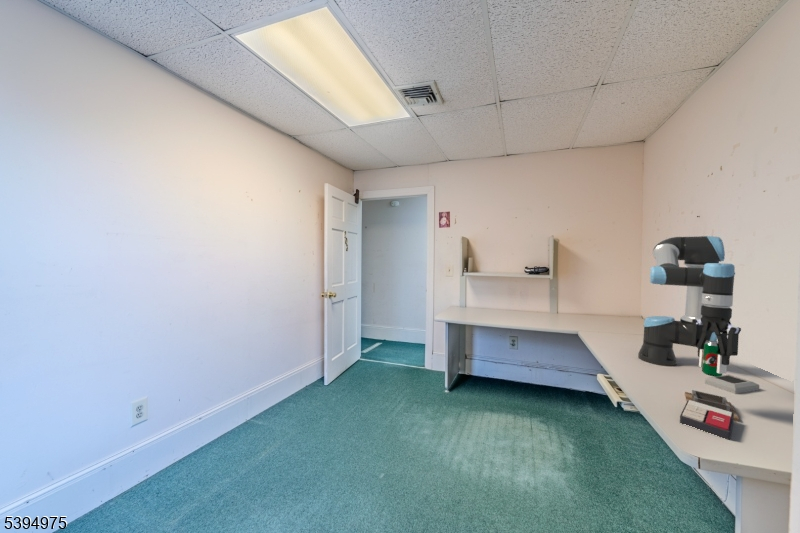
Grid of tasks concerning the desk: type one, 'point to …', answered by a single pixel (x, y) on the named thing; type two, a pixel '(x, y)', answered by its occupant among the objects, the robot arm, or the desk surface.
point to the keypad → (732, 384)
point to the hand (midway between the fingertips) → (712, 369)
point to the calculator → (708, 419)
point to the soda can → (710, 358)
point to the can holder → (711, 401)
